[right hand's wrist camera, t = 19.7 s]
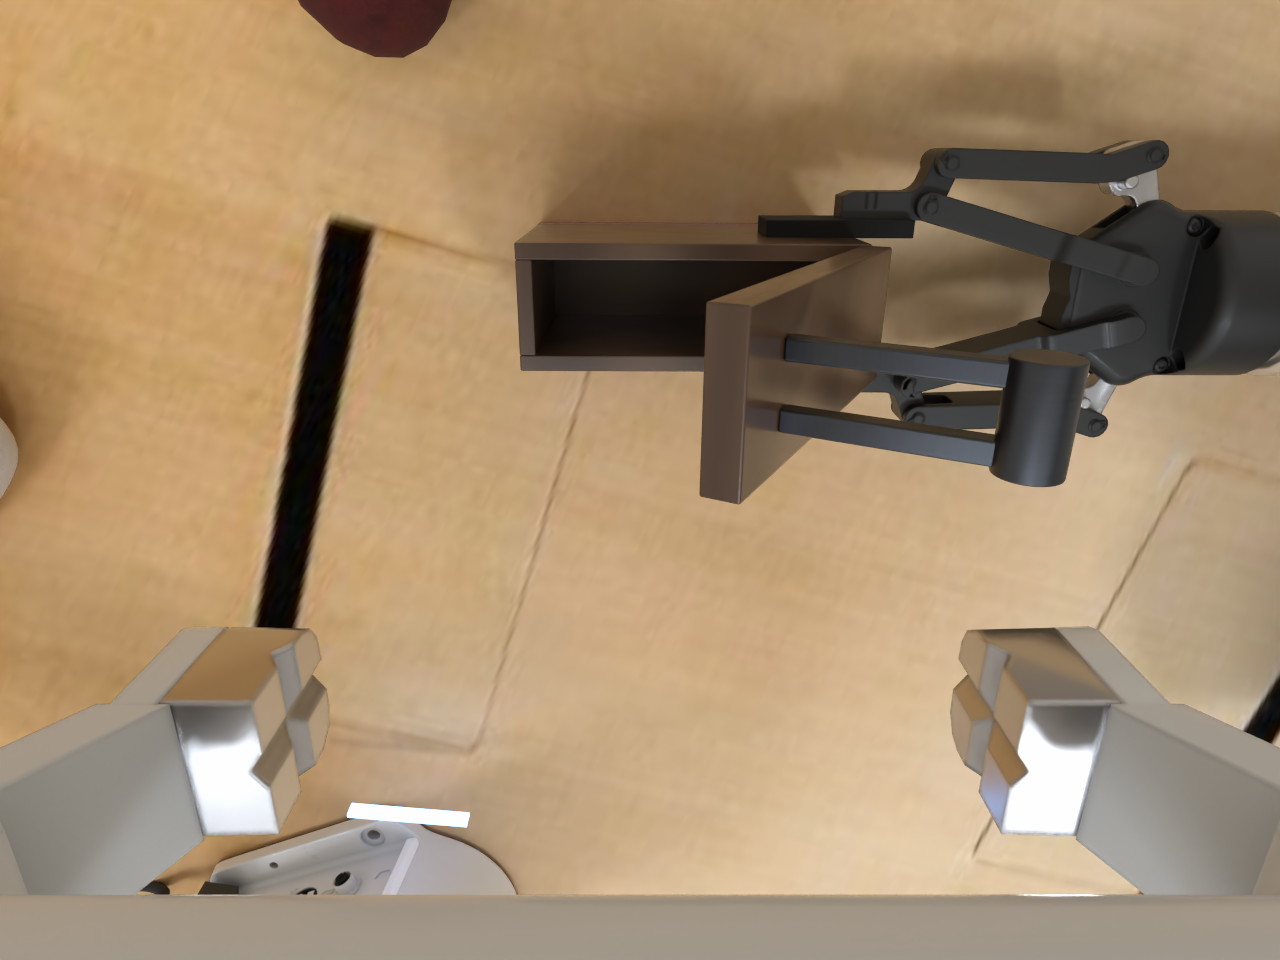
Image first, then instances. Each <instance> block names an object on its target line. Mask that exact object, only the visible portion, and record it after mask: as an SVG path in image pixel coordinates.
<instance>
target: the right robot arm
mask: <svg viewBox="0 0 1280 960" xmlns="http://www.w3.org/2000/svg"><path fill="white" fill-rule="evenodd" d="M320 661H321V654H320V649H319V645H318V640H317V636H316V635H315V634H314V633H313V632H312V631H311V630H310V629H298V628H247V627H232V628H228V627H191V628H187V629H182V630H181V631H180V632H179V633H178V634H177V635H176V636H175V637H174V638H173V639H172V640H171V641H170V642H169V643H168V645H167V646H166V647H165V648H164V649H163V650H162V651H161V652H160V653H159V654H158V655H157V656H156V657H155V658H154V659H153V660H152V661H151V662H150V663H149V664H148V665H147V666H146V667H145V668H144V669H143V670H142V671H141V672H140V673H139V674H138V675H137V676H136V677H135V678H134V679H133V681H132V682H131V683H130V684H129V685H128V686H127V687H126V688H125V689H124V690H123V691H122V692H121V693H120V694H119V695H118V696H117V697H116V698H115V699H114V700H113V701H112V702H111V703H110V704H95V705H93V706H91V707H89V708H87V709H84V710H82V711H80V712H78V713H76V714H73V715H71V716H69V717H67V718H65V719H62V720H60V721H58V722H56V723H54V724H51V725H49V726H47V727H45V728H43V729H41V730H38V731H36V732H34V733H32V734H30V735H27V736H25V737H23V738H21V739H19V740H16V741H14V742H12V743H10V744H8V745H5V746H3V747H1V748H0V960H1280V748H1279V747H1277V746H1274V745H1272V744H1270V743H1268V742H1266V741H1263V740H1261V739H1259V738H1257V737H1255V736H1252V735H1250V734H1248V733H1246V732H1244V731H1242V730H1239V729H1237V728H1235V727H1233V726H1231V725H1228V724H1226V723H1224V722H1222V721H1220V720H1217V719H1215V718H1213V717H1211V716H1209V715H1207V714H1204V713H1202V712H1200V711H1198V710H1196V709H1193V708H1191V707H1189V706H1187V705H1185V704H1170V703H1169V702H1168V701H1167V700H1166V699H1165V698H1164V697H1163V696H1162V695H1161V694H1160V693H1159V692H1158V691H1157V690H1156V689H1155V688H1154V687H1153V686H1152V685H1151V684H1150V682H1149V681H1148V680H1147V679H1146V678H1145V677H1144V676H1143V675H1142V674H1141V673H1140V672H1139V671H1138V670H1137V669H1136V668H1135V667H1134V666H1133V665H1132V664H1131V663H1130V662H1129V661H1128V660H1127V659H1126V658H1125V657H1124V656H1123V655H1122V654H1121V653H1120V652H1119V650H1118V649H1117V648H1116V647H1115V646H1114V645H1113V644H1112V643H1111V642H1110V641H1109V640H1108V639H1107V638H1106V637H1105V636H1104V635H1103V634H1102V633H1101V632H1100V631H1099V630H1097V629H1094V628H1091V627H1089V626H1084V627H1057V628H1028V629H989V630H967V632H966V634H965V636H964V638H963V640H962V643H961V648H960V653H959V661H960V662H961V664H962V666H963V667H964V669H965V670H966V672H967V674H968V675H967V676H966V677H965V678H964V679H963V680H962V681H961V682H960V683H959V684H958V685H957V686H956V687H955V688H954V689H953V695H952V703H951V711H950V714H951V726H952V735H953V738H954V742H955V745H956V748H957V751H958V753H959V755H960V757H961V759H962V761H963V763H964V765H965V766H967V767H968V768H970V769H971V770H973V771H974V772H976V773H977V774H979V775H980V776H981V782H980V787H979V793H980V795H981V797H982V799H983V801H984V803H985V804H986V806H987V808H988V810H989V812H990V814H991V815H992V817H993V819H994V821H995V823H996V825H997V827H998V828H999V830H1000V832H1001V834H1016V835H1053V836H1077V837H1076V840H1077V841H1078V842H1080V843H1081V844H1082V845H1083V846H1085V847H1086V848H1087V849H1088V850H1090V851H1091V852H1092V853H1093V854H1095V855H1096V856H1097V857H1098V858H1100V859H1101V860H1102V861H1104V862H1105V863H1106V864H1107V865H1109V866H1110V867H1111V868H1112V869H1114V870H1115V871H1116V872H1117V873H1119V874H1120V875H1121V876H1122V877H1124V878H1125V879H1126V880H1127V881H1129V882H1130V883H1131V884H1132V885H1134V886H1135V887H1136V888H1137V889H1139V890H1140V891H1141V892H1142V893H1144V894H1145V895H517V894H516V892H515V889H514V887H513V885H512V883H511V882H510V880H509V878H508V877H507V876H506V874H505V873H504V872H503V871H502V869H501V868H500V867H499V866H498V865H497V864H496V863H494V862H493V861H492V860H491V859H490V858H488V857H487V856H486V855H484V854H483V853H481V852H480V851H478V850H476V849H475V848H473V847H471V846H469V845H467V844H465V843H462V842H460V841H457V840H454V839H451V838H448V837H445V836H442V835H439V834H436V833H434V832H431V831H429V830H427V829H426V828H424V827H423V826H422V825H421V824H433V825H446V826H458V827H467V823H468V819H469V813H468V812H456V811H443V810H431V809H419V808H407V807H395V806H383V805H371V804H358V803H352V804H351V806H350V808H349V811H348V813H347V817H348V818H354V819H351V820H348V821H345V822H342V823H339V824H335V825H332V826H329V827H326V828H323V829H320V830H317V831H314V832H310V833H307V834H304V835H301V836H298V837H295V838H292V839H289V840H285V841H282V842H279V843H276V844H273V845H270V846H267V847H263V848H260V849H257V850H254V851H251V852H248V853H245V854H242V855H238V856H235V857H232V858H229V859H226V860H224V861H221V862H219V863H218V864H217V865H216V866H215V868H214V871H213V873H212V875H211V878H210V881H209V882H207V881H206V882H205V883H204V885H203V886H202V888H201V890H200V891H199V893H198V895H169V894H170V890H169V888H168V887H167V886H166V885H164V884H162V883H160V882H152V881H153V880H154V879H155V878H157V877H158V876H159V875H160V874H162V873H163V872H164V871H165V870H167V869H168V868H169V867H171V866H172V865H173V864H174V863H176V862H177V861H178V860H179V859H181V858H182V857H183V856H184V855H186V854H187V853H188V852H189V851H191V850H192V849H193V848H194V847H196V846H197V845H198V844H199V843H201V842H202V841H203V840H204V837H203V836H226V835H262V834H279V832H280V830H281V829H282V827H283V825H284V823H285V821H286V819H287V817H288V816H289V814H290V812H291V810H292V808H293V806H294V804H295V803H296V801H297V799H298V797H299V795H300V793H301V787H300V782H299V776H300V775H301V774H303V773H304V772H306V771H307V770H309V769H310V768H312V767H313V766H315V765H316V763H317V761H318V759H319V757H320V755H321V753H322V751H323V749H324V746H325V741H326V737H327V732H328V728H329V701H328V695H327V689H326V688H325V687H324V686H323V685H322V684H321V683H320V682H319V681H318V680H317V679H316V678H315V677H314V676H313V675H312V674H313V672H314V670H315V669H316V667H317V665H318V664H319V662H320ZM419 823H421V824H419ZM373 830H375V831H373ZM376 831H377V832H376ZM139 891H146V892H151V893H154V894H156V895H135V894H137V893H138V892H139Z"/></svg>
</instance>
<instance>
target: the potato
mask: <svg viewBox="0 0 1280 960" xmlns="http://www.w3.org/2000/svg"><path fill="white" fill-rule="evenodd" d="M298 1H299V3H300V5H301V6H302V7H303V8H304V9H305V10H306V11H307V12H308V13H309V14H310V15H311V16H312V17H313V18H315V19H316V20H317V21H318V22H319V23H320V24H321V25H322V26H323V27H324V28H325V29H326V30H327V31H328V32H330V33H331V34H332V35H333V36H334V37H335V38H336V39H337V40H339V41H340V42H342V43H343V44H345V45H348V46H350V47H353V48H355V49H358V50H360V51H362V52H365V53H367V54H370V55H372V56H374V57H402V58H403V57H405V56H407V55H409V54H411V53H413V52H415V51H417V50H418V49H420V48H422V47H424V46H426V45H427V44H428V43H429V41H430V40H431V39H432V37H433V36H434V35H435V33H436V32H437V31H438V29H439V28H440V27H441V26H442V24H443V23H444V22H445V19H446V16H447V13H448V10H449V7H450V4H451V0H298Z"/></svg>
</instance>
